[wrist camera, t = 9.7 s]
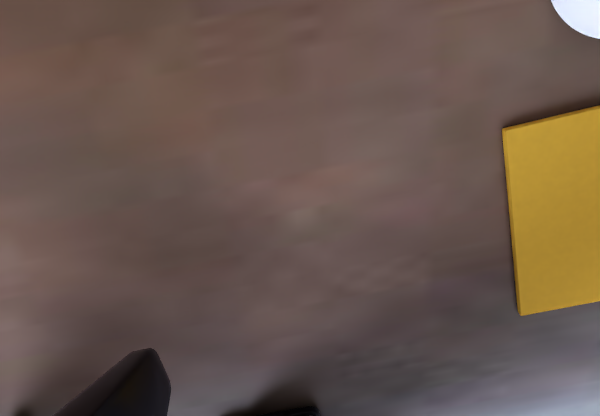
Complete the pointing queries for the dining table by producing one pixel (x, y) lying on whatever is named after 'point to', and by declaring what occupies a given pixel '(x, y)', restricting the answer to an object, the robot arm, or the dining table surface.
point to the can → (580, 15)
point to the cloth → (555, 209)
